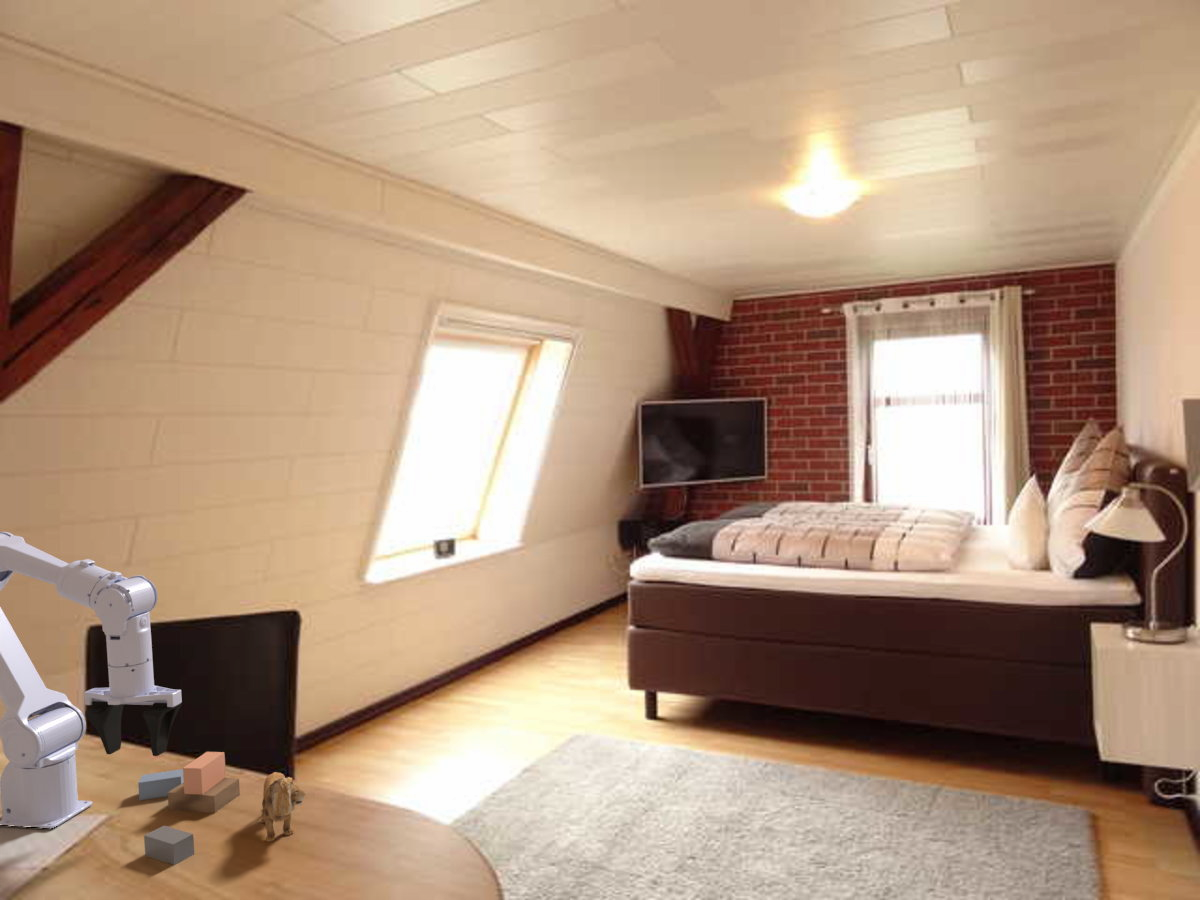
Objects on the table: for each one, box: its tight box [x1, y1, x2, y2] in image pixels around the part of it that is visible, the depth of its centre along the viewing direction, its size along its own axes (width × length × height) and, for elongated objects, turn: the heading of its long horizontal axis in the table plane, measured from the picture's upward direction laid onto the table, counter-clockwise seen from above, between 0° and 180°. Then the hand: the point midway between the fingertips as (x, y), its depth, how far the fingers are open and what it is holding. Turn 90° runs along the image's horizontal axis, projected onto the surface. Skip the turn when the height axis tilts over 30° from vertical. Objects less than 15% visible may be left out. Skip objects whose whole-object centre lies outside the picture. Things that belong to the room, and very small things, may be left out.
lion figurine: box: [260, 771, 307, 843], centre depth 122 cm, size 15×5×9 cm, turn 34°
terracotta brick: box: [182, 751, 227, 795], centre depth 130 cm, size 3×6×4 cm, turn 172°
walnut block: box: [167, 777, 241, 814], centre depth 130 cm, size 8×6×3 cm
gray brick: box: [143, 825, 195, 866], centre depth 115 cm, size 6×3×3 cm, turn 63°
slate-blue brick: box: [137, 768, 184, 801], centre depth 134 cm, size 6×3×3 cm, turn 108°
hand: (136, 752), depth 124 cm, fingers open, 7 cm apart
